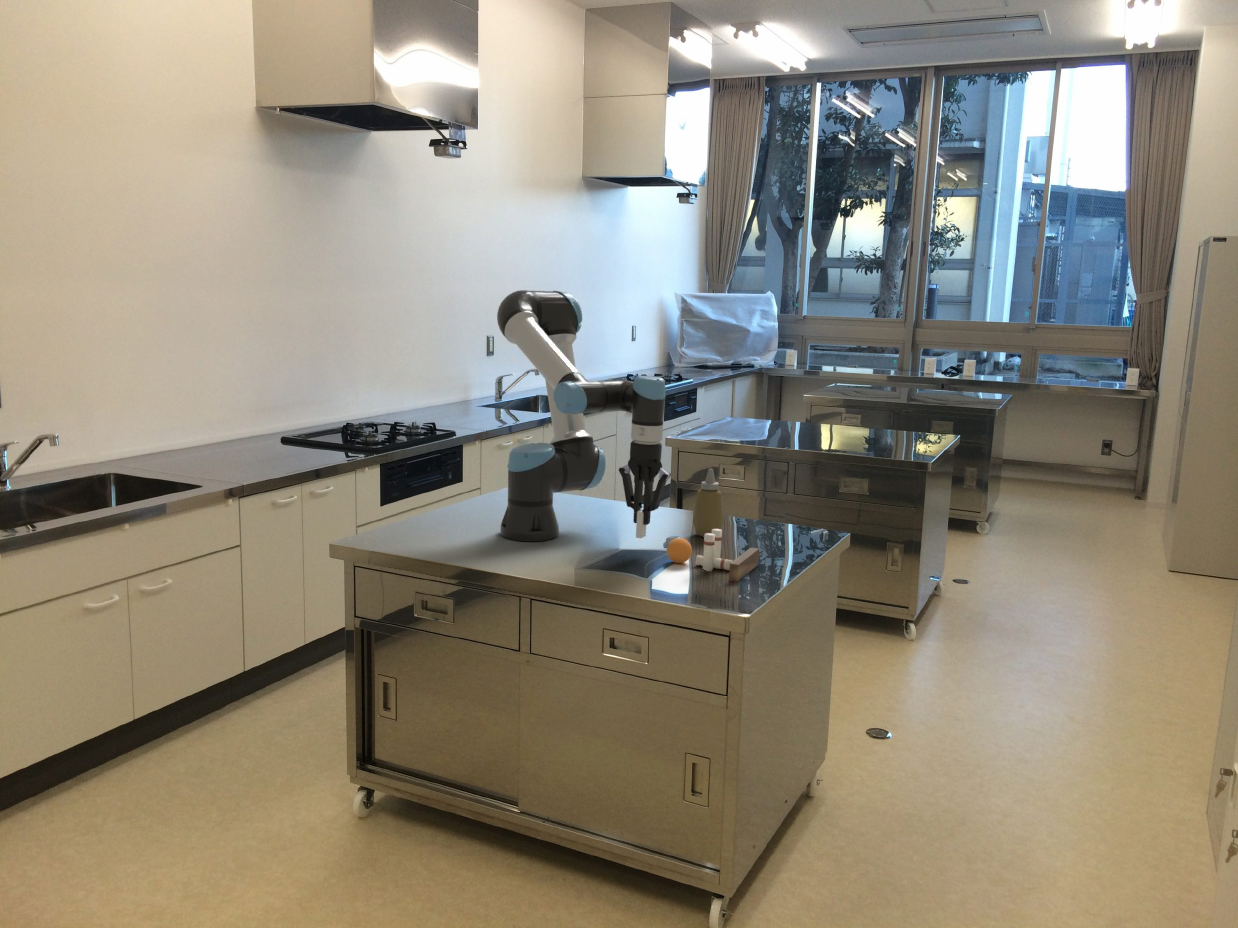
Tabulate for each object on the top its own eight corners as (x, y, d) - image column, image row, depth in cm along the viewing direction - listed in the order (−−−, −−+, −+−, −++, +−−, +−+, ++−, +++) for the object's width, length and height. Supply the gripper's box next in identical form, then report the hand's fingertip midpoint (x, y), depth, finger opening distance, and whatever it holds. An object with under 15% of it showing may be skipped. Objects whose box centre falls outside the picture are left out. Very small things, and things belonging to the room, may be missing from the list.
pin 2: (708, 565, 232) (710, 530, 231) (711, 562, 235) (713, 528, 233) (718, 566, 231) (720, 531, 230) (721, 564, 234) (723, 529, 232)
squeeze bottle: (720, 540, 256) (724, 473, 252) (690, 537, 257) (693, 470, 254) (723, 533, 263) (727, 467, 260) (694, 530, 265) (697, 465, 262)
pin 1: (700, 570, 228) (702, 534, 226) (704, 567, 230) (706, 532, 229) (711, 571, 227) (713, 536, 225) (714, 569, 229) (716, 534, 228)
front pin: (695, 556, 230) (729, 561, 227) (699, 553, 233) (733, 558, 229) (695, 566, 231) (729, 571, 228) (699, 563, 233) (732, 568, 230)
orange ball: (690, 559, 229) (671, 570, 232) (700, 552, 234) (681, 562, 237) (677, 537, 229) (658, 548, 232) (687, 530, 234) (668, 541, 237)
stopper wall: (728, 580, 221) (729, 563, 220) (749, 563, 235) (750, 547, 234) (737, 581, 220) (738, 564, 219) (757, 564, 234) (758, 548, 234)
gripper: (615, 440, 232) (610, 535, 237) (665, 447, 227) (659, 544, 232) (627, 436, 239) (622, 529, 244) (677, 442, 234) (671, 537, 238)
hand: (640, 536), depth 238 cm, fingers closed
